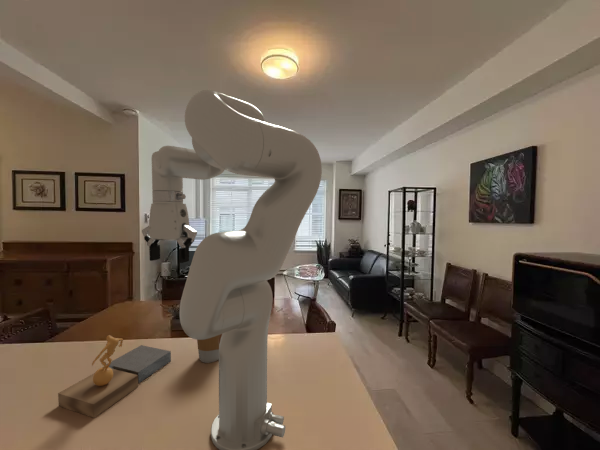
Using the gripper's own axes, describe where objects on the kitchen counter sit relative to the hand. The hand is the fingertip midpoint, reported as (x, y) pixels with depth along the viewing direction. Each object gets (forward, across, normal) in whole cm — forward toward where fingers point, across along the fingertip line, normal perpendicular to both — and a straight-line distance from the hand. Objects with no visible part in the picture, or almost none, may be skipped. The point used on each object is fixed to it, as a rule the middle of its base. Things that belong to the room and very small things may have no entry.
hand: (169, 260), depth 77 cm
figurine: (+27, +5, +15) cm, 31 cm away
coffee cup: (+30, -7, -8) cm, 32 cm away
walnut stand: (+30, +7, +15) cm, 34 cm away
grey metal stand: (+30, +8, +3) cm, 31 cm away
